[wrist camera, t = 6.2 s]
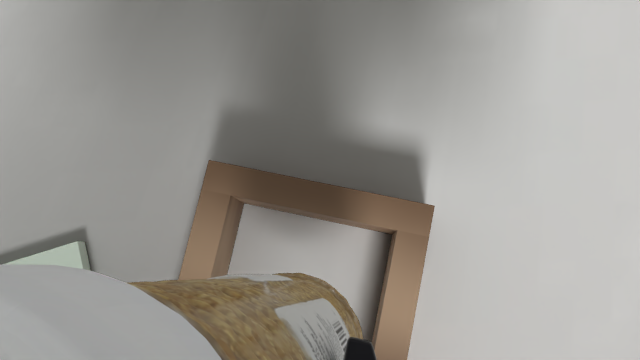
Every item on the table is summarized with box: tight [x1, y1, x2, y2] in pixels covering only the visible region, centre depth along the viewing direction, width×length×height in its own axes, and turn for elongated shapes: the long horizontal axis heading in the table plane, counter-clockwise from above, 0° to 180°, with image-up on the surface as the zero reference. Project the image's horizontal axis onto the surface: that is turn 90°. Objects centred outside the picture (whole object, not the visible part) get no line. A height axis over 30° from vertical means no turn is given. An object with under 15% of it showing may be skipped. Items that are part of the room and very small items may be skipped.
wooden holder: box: [178, 160, 434, 360], centre depth 20 cm, size 14×9×2 cm, turn 168°
